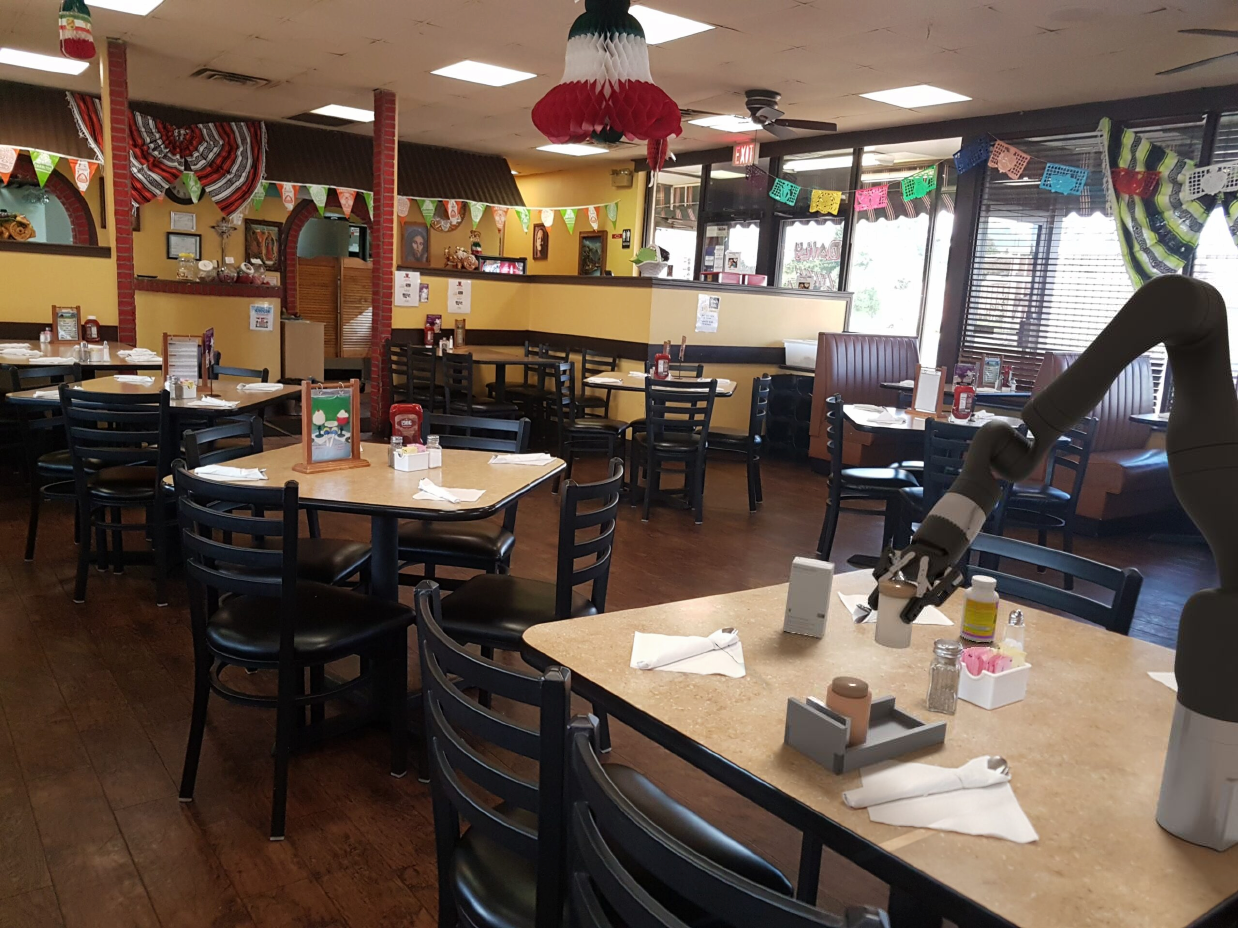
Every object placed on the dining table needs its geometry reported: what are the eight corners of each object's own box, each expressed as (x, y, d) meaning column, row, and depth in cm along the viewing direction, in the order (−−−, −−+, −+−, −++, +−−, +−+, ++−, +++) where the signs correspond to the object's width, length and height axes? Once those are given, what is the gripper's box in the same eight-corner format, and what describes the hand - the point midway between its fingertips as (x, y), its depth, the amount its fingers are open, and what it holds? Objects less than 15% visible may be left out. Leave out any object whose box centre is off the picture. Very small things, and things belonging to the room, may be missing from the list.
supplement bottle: (996, 645, 187) (1004, 585, 185) (962, 641, 189) (970, 581, 186) (990, 634, 194) (998, 575, 191) (957, 630, 195) (964, 572, 193)
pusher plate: (846, 763, 132) (851, 717, 131) (836, 766, 131) (841, 720, 130) (807, 739, 139) (811, 695, 138) (797, 742, 138) (801, 698, 137)
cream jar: (919, 645, 139) (926, 587, 137) (894, 651, 136) (900, 592, 134) (890, 633, 143) (896, 577, 142) (865, 638, 140) (871, 581, 139)
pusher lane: (943, 746, 142) (949, 698, 141) (836, 781, 130) (842, 728, 128) (888, 717, 151) (893, 671, 150) (783, 747, 139) (787, 697, 137)
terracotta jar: (874, 752, 137) (882, 687, 135) (844, 762, 133) (851, 695, 132) (842, 734, 142) (849, 671, 140) (812, 743, 139) (819, 679, 137)
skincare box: (782, 632, 188) (789, 562, 185) (787, 623, 194) (794, 554, 191) (824, 639, 185) (831, 568, 183) (828, 630, 191) (835, 560, 188)
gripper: (902, 503, 146) (840, 585, 142) (980, 525, 134) (915, 614, 130) (920, 532, 150) (861, 613, 145) (998, 556, 138) (936, 644, 134)
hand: (887, 613), depth 138 cm, fingers closed on cream jar, 5 cm apart
